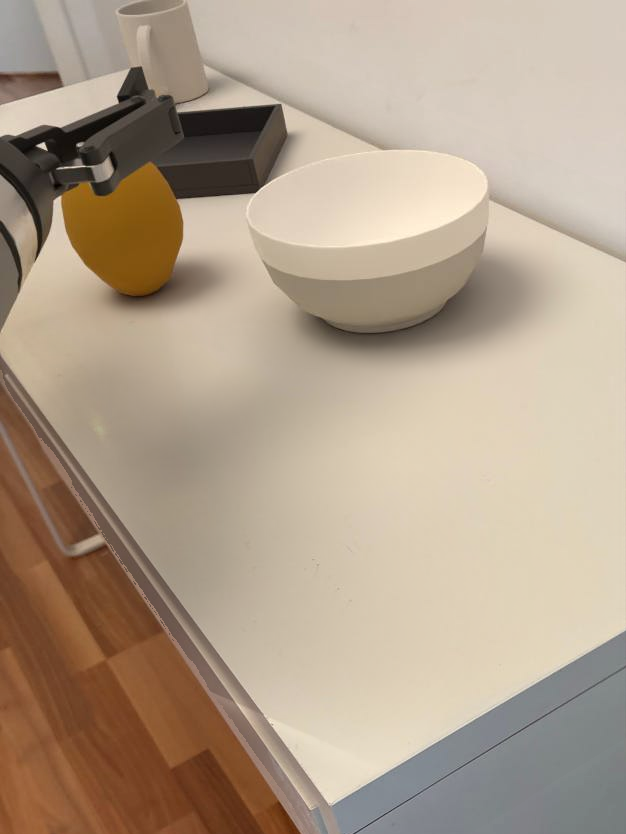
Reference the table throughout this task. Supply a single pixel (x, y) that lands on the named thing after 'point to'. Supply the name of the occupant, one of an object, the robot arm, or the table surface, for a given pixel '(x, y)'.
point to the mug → (164, 47)
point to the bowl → (372, 235)
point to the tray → (223, 151)
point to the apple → (127, 231)
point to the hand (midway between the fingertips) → (45, 101)
